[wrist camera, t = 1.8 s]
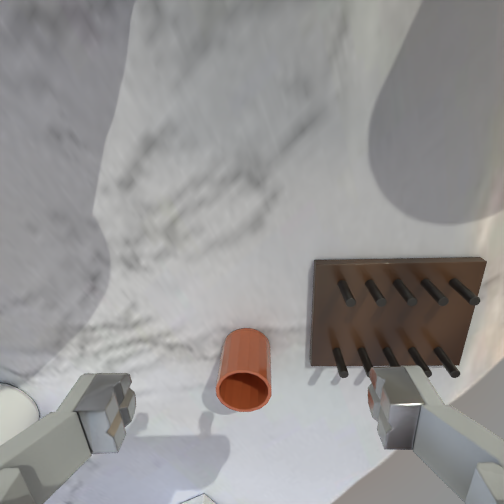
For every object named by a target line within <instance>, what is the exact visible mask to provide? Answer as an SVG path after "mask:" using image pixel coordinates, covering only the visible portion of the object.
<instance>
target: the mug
mask: <svg viewBox="0 0 504 504" xmlns="http://www.w3.org/2000/svg"><path fill="white" fill-rule="evenodd" d="M37 421H39V411H38V408H37V406H36V404H35V402H34V401H33V400H32V398H30V397H29V396H28V395H27V394H26V393H25V392H23V391H21V390H20V389H18V388H16V387H13V386H11V385H8V384H3V383H0V446H1V445H2V444H4V443H5V442H7V441H8V440H10V439H11V438H13V437H14V436H16V435H17V434H19V433H20V432H22V431H24V430H25V429H27V428H28V427H30V426H31V425H33V424H34V423H36V422H37Z"/></svg>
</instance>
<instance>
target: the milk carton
mask: <svg viewBox="0 0 504 504" xmlns="http://www.w3.org/2000/svg"><path fill="white" fill-rule="evenodd" d="M182 504H216V503H215V502H213V501H212V500H211V499H210V498H209V497H208V496H206V495H205V494H203V495H200V496H198V497H196V498H193V499H191V500H189V501H186V502H184V503H182Z"/></svg>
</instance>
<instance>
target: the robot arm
mask: <svg viewBox="0 0 504 504" xmlns="http://www.w3.org/2000/svg"><path fill="white" fill-rule="evenodd" d="M369 377H370V380H371V382H372V384H371V385H370V386H369V387H368V404H369V408H370V412H371V415H372V417H373V418H374V419H375V420H376V421H377V422H378V426H377V431H378V434H379V436H380V439H381V442H382V444H383V447H384V449H401V450H402V449H403V450H405V449H406V450H413V452H414V453H415V454H416V455H417V456H418V457H419V458H420V459H421V460H422V461H423V462H424V463H425V464H426V465H427V466H428V467H429V468H430V469H431V470H432V471H433V472H434V473H435V474H436V475H437V476H438V477H439V478H440V479H441V480H442V481H443V482H444V483H445V484H446V485H447V486H448V487H449V488H450V489H451V490H452V491H453V492H454V493H456V494H457V495H458V496H459V498H460V499H461V500H462V501H464V503H465V504H504V440H503V439H502V438H500V437H499V436H497V435H496V434H494V433H492V432H491V431H489V430H488V429H486V428H485V427H483V426H482V425H480V424H479V423H477V422H476V421H474V420H472V419H471V418H469V417H468V416H466V415H465V414H463V413H462V412H460V411H459V410H457V409H455V408H454V407H452V406H451V405H445V404H444V403H443V401H442V399H441V398H440V396H439V395H438V393H437V392H436V390H435V389H434V387H433V385H432V384H431V382H430V381H429V379H428V378H427V376H426V375H425V373H424V371H423V370H422V368H421V367H420V366H418V365H414V366H392V367H371V369H370V374H369ZM131 383H132V381H131V378H130V374H127V373H99V374H91V373H85V374H83V375H82V376H80V378H79V379H78V381H77V382H76V383H75V385H74V386H73V388H72V389H71V391H70V392H69V393H68V395H67V396H66V398H65V399H64V401H63V402H62V403H61V405H60V406H59V408H58V409H57V411H56V412H51V413H49V414H48V415H46V416H45V417H43V418H42V419H40V420H39V421H37V422H36V423H34V424H33V425H31V426H30V427H28V428H27V429H25V430H24V431H22V432H20V433H19V434H17V435H16V436H14V437H13V438H11V439H10V440H8V441H7V442H5V443H4V444H2V445H1V446H0V504H43V503H44V502H45V501H46V500H47V499H48V498H49V497H50V496H51V495H52V494H53V493H54V492H55V491H56V490H57V489H59V488H60V487H61V486H62V485H63V484H64V483H65V482H66V481H67V480H68V479H69V478H70V477H71V476H72V475H73V474H74V473H75V472H76V471H77V470H78V469H79V468H80V467H81V466H82V465H83V464H84V463H85V462H86V461H87V460H88V459H89V458H90V457H91V456H92V455H91V454H100V453H118V452H119V449H120V447H121V445H122V442H123V440H124V438H125V435H126V431H125V428H124V427H126V426H127V425H128V424H129V423H130V422H131V421H132V419H133V416H134V413H135V408H136V397H135V392H134V391H133V390H131V389H130V388H129V387H130V385H131Z"/></svg>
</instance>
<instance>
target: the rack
mask: <svg viewBox="0 0 504 504" xmlns="http://www.w3.org/2000/svg"><path fill="white" fill-rule="evenodd" d="M486 263H487V261H485V260H484V259H482V258H481V257H465V258H407V259H350V260H314V276H313V299H312V322H311V345H310V363H311V366H337V369H338V372H339V376H340V377H342V378H346V377H347V376H348V371H347V368H346V366H363V367H364V369H365V372H366V374H367V376H368V377H369V374H370V369H371V367H373V366H390V367H392V366H414V365H418V366H420V367H421V368H422V370H423V371H424V373H425V375H426V376H427V378H428V377H430V376H431V375H432V372H431V371H430V369H429V368H428V366H433V365H443V366H444V367H445V368H446V370H447V371H448V373H449V374H450V376H451V377H453V378H456V377H458V376H459V375H460V372H459V370H458V369H457V368H456V366H455V365H459V363H460V360H461V356H462V352H463V349H464V345H465V341H466V337H467V334H468V330H469V326H470V323H471V319H472V315H473V312H474V308H475V305H478V304H479V303H480V298H479V297H478V293H479V289H480V286H481V282H482V278H483V274H484V271H485V267H486ZM369 378H370V377H369Z"/></svg>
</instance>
